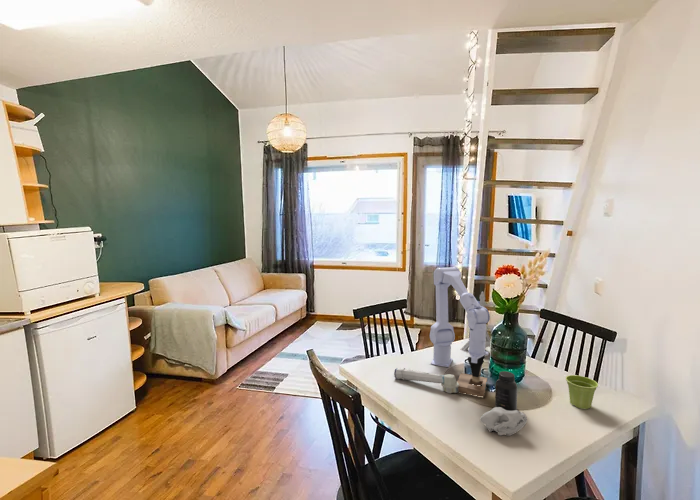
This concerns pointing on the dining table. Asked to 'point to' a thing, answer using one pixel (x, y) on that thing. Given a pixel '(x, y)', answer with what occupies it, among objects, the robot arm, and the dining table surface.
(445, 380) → the gray mallet
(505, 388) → the supplement bottle
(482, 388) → the socket block
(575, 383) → the plant pot
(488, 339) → the eiffel tower
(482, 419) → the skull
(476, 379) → the peg
